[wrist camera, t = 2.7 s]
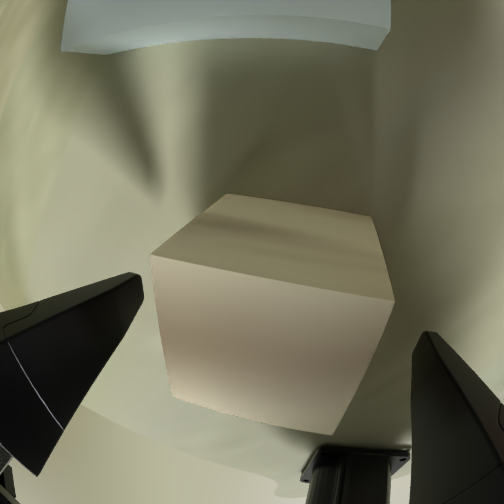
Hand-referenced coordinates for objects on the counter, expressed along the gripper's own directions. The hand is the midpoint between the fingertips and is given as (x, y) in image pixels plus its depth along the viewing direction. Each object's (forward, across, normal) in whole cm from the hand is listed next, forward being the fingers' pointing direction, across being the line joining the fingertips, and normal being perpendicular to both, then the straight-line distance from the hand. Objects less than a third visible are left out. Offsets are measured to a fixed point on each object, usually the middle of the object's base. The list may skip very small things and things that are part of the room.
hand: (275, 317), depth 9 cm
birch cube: (+3, 0, 0) cm, 3 cm away
